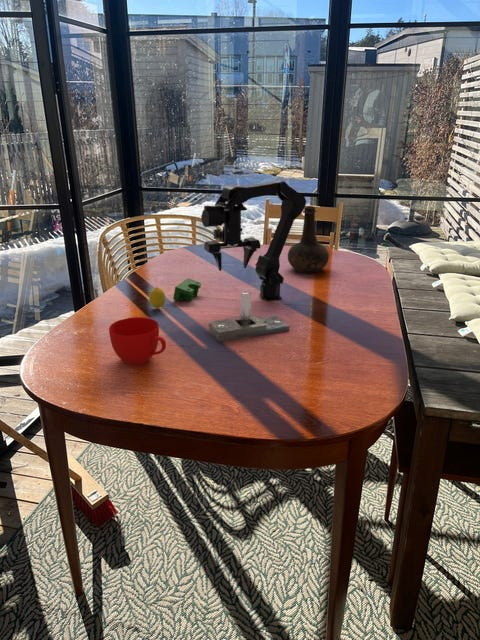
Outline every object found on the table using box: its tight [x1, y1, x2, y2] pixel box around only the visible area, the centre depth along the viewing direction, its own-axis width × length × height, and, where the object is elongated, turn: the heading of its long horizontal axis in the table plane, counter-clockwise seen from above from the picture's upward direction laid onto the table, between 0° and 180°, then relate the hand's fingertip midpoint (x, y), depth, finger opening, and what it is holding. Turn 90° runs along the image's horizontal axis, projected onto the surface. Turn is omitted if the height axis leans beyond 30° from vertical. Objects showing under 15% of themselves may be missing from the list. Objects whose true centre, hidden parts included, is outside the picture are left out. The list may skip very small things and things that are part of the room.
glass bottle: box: [287, 205, 330, 274], centre depth 206 cm, size 18×18×28 cm
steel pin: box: [239, 291, 252, 326], centre depth 145 cm, size 3×3×12 cm
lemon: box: [148, 286, 166, 310], centre depth 163 cm, size 6×6×8 cm
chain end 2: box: [235, 315, 290, 340], centre depth 148 cm, size 18×9×2 cm, turn 112°
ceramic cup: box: [108, 316, 167, 366], centre depth 126 cm, size 13×17×10 cm
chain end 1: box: [208, 314, 266, 343], centre depth 146 cm, size 16×9×3 cm, turn 112°
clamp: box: [172, 277, 202, 302], centre depth 175 cm, size 12×6×9 cm, turn 156°
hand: (232, 269), depth 165 cm, fingers open, 9 cm apart
